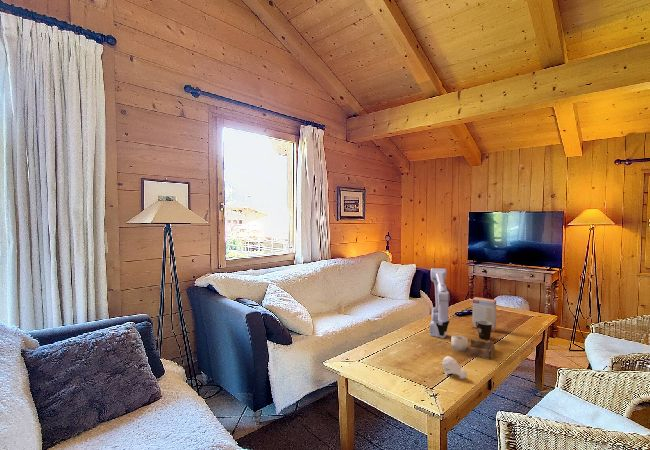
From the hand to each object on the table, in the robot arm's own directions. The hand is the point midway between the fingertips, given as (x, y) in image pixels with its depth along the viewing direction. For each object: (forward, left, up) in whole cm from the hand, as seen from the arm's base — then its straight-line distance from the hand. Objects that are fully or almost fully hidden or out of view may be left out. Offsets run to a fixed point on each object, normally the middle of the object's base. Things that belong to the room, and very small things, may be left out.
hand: (443, 333), depth 205 cm
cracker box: (+17, +43, -7) cm, 47 cm away
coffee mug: (+19, +26, -7) cm, 33 cm away
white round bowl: (+9, 0, -7) cm, 12 cm away
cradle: (+20, 0, -7) cm, 22 cm away
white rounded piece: (+14, -37, -7) cm, 40 cm away
